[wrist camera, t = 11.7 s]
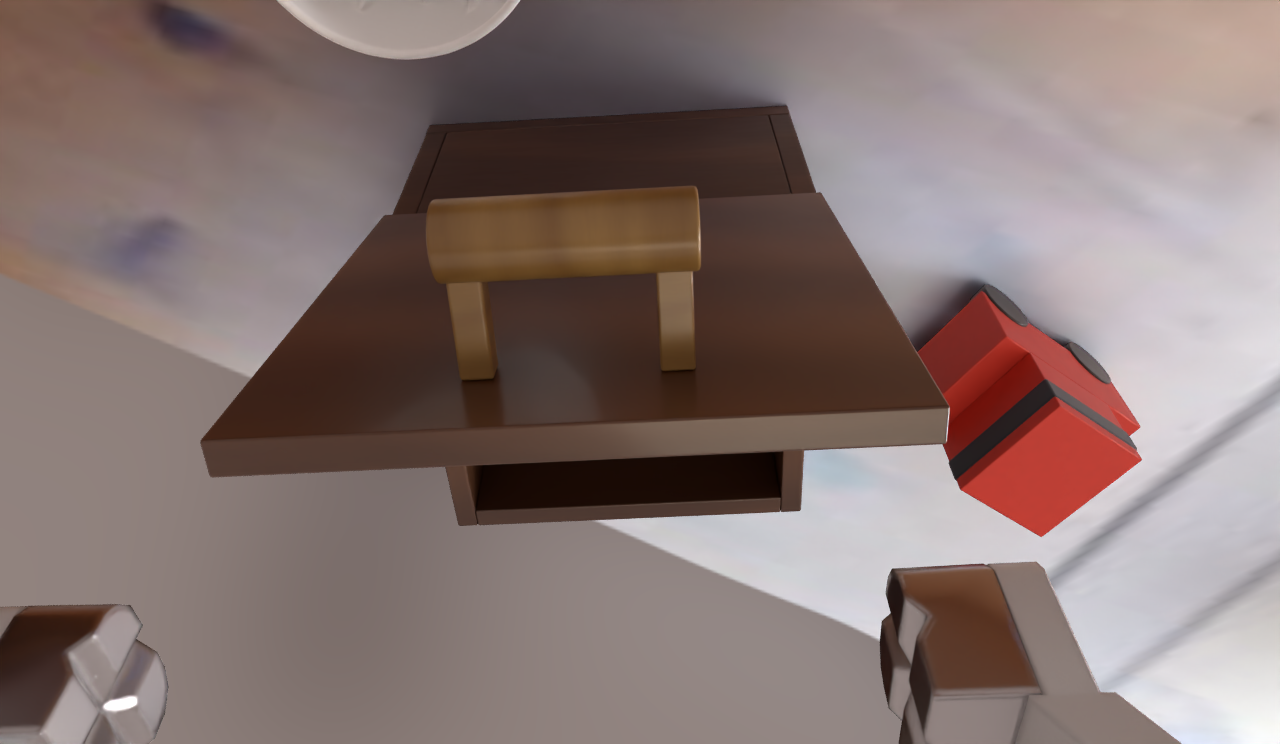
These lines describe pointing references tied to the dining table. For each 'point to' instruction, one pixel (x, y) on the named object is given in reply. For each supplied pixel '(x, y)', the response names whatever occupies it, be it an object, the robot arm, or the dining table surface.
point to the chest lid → (585, 340)
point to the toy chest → (610, 160)
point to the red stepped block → (1026, 414)
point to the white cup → (401, 24)
